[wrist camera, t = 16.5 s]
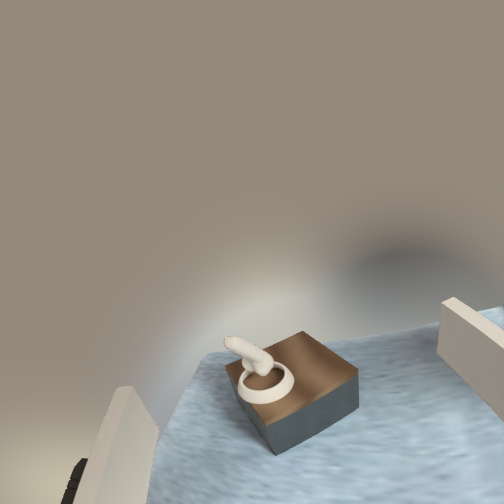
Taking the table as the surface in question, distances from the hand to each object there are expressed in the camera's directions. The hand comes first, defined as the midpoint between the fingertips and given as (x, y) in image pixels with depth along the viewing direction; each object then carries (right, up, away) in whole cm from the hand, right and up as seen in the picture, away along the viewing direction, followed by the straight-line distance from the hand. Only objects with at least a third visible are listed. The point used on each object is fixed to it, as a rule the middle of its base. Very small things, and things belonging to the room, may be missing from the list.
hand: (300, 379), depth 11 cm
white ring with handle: (0, -13, +26) cm, 29 cm away
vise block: (+5, -19, +31) cm, 36 cm away
